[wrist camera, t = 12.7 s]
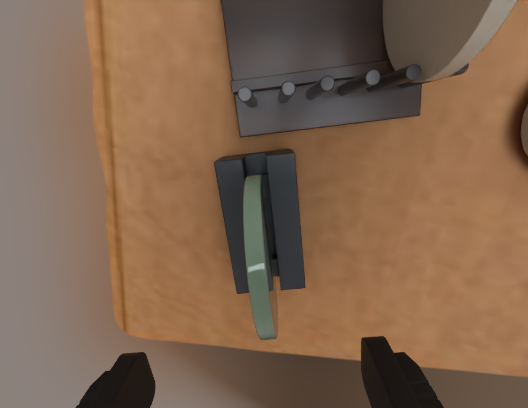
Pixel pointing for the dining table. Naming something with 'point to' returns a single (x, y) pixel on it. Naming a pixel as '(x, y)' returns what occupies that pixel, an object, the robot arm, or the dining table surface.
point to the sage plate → (260, 258)
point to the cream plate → (440, 32)
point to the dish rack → (314, 65)
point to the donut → (525, 131)
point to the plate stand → (280, 212)
